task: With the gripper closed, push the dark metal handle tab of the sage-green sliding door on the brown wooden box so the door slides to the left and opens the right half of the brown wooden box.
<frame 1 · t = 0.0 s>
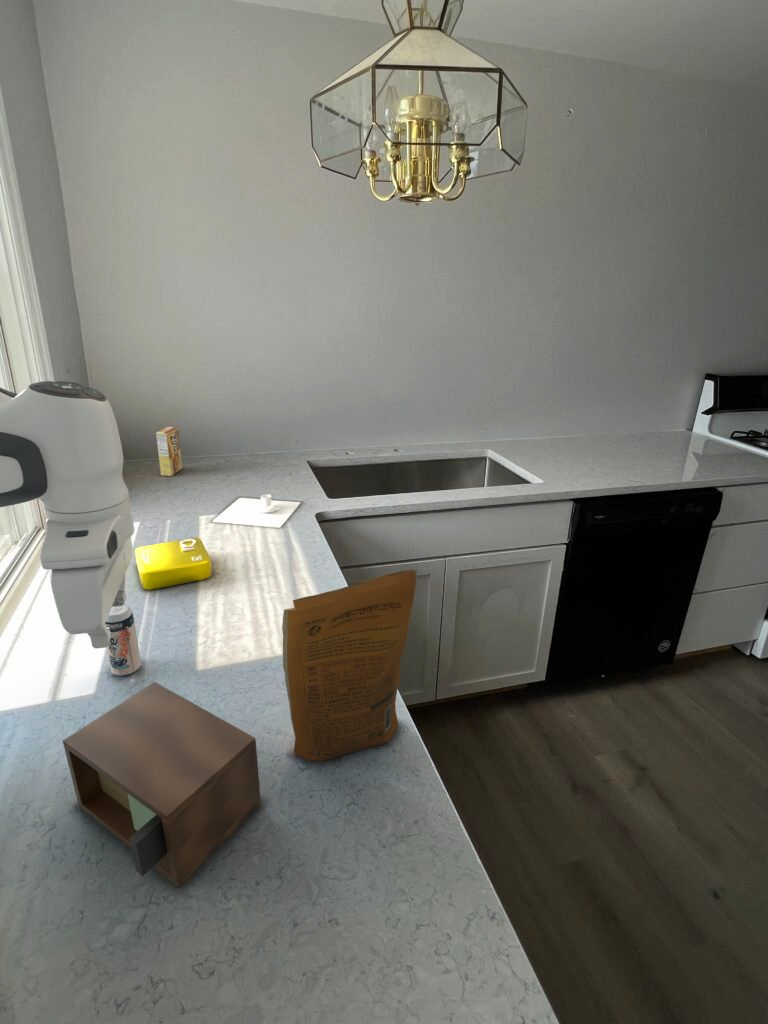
hand: (110, 622, 71), 22 cm above the worktop, tool pointing down, fingers open, 8 cm apart
brown wooden box: (173, 802, 72), on the worktop
beer can: (126, 669, 97), on the worktop
sliding door: (138, 830, 62), point 6 cm above the worktop, slide at 0.0 cm
pancake mix bag: (350, 746, 82), on the worktop
teacup and saucer: (258, 512, 165), on the worktop
yellow box: (174, 571, 130), on the worktop
candy box: (172, 472, 197), on the worktop
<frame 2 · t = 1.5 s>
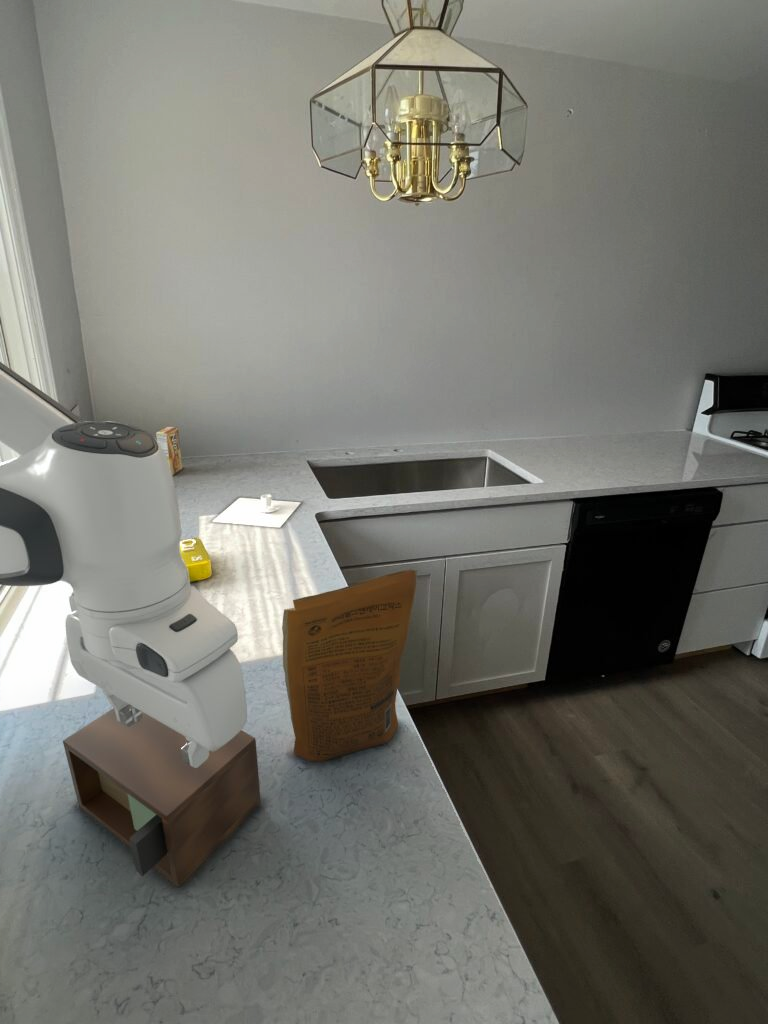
hand: (162, 739, 53), 22 cm above the worktop, tool pointing down, fingers open, 8 cm apart
nothing on the worktop moved.
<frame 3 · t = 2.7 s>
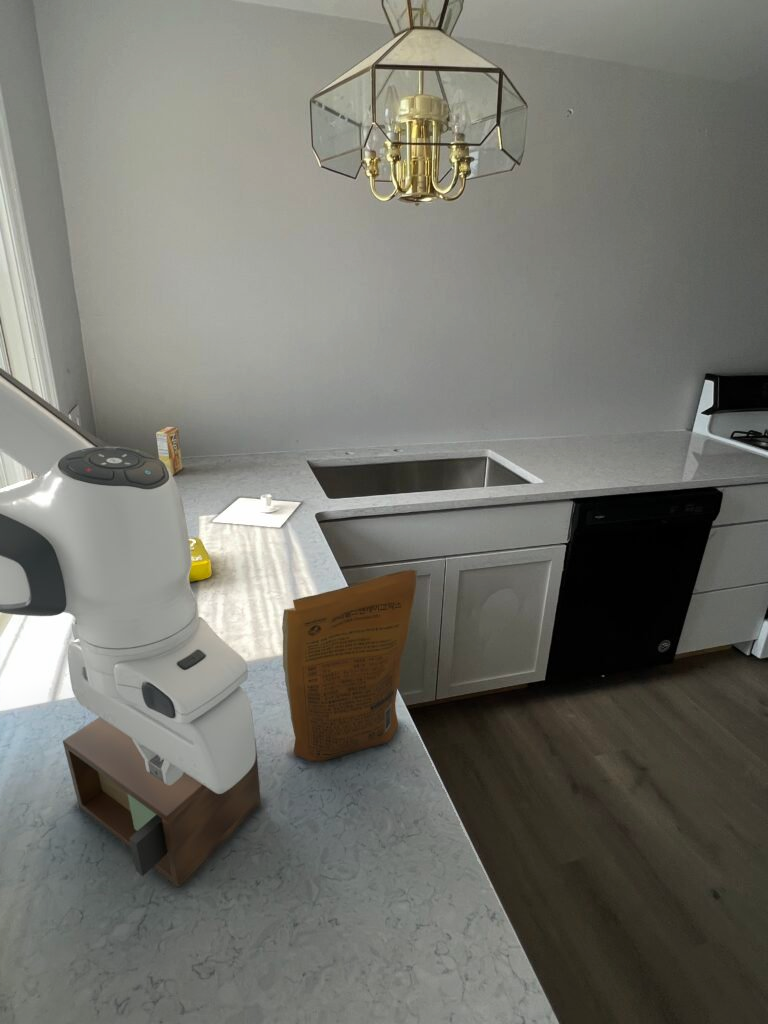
hand: (165, 774, 50), 21 cm above the worktop, tool pointing down, fingers closed
nothing on the worktop moved.
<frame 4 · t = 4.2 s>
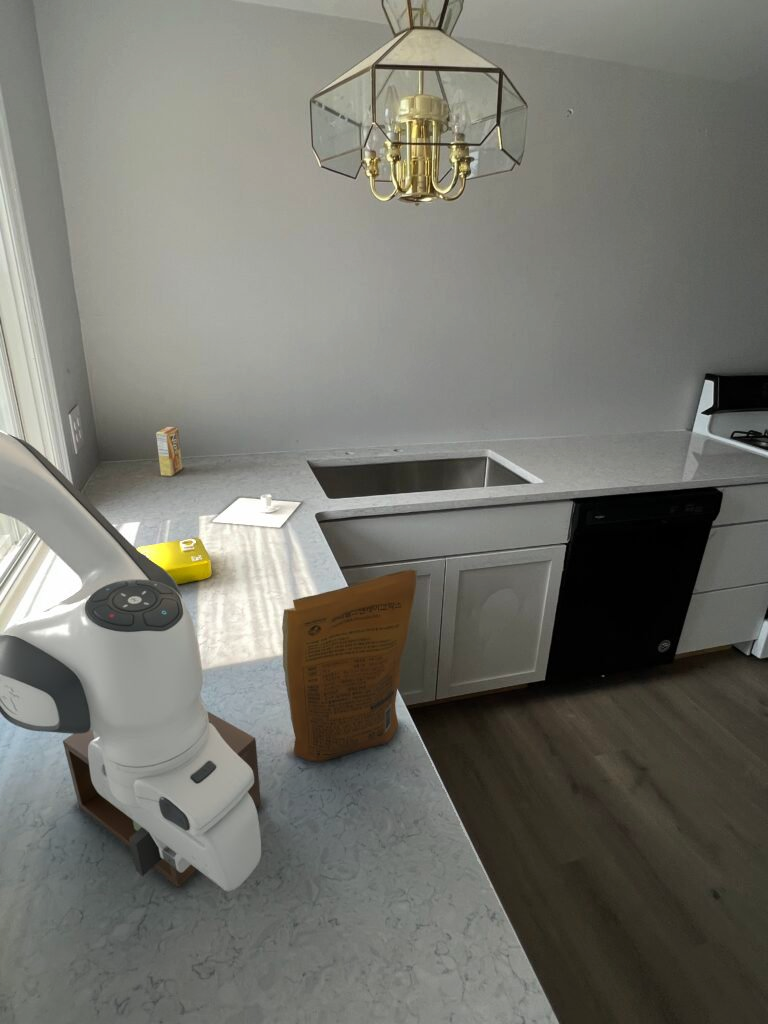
hand: (177, 859, 55), 9 cm above the worktop, tool pointing down, fingers closed
nothing on the worktop moved.
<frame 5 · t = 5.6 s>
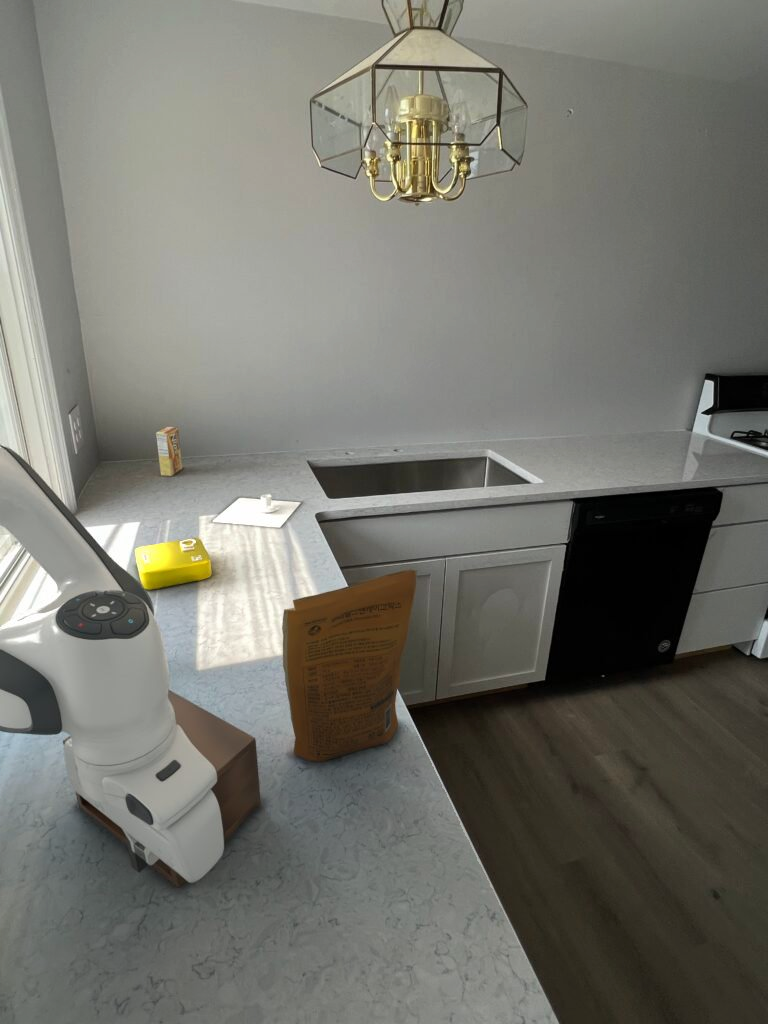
hand: (148, 853, 58), 7 cm above the worktop, tool pointing down, fingers closed
sliding door: (134, 827, 62), point 5 cm above the worktop, slide at 0.7 cm, touching gripper
everything else where it was.
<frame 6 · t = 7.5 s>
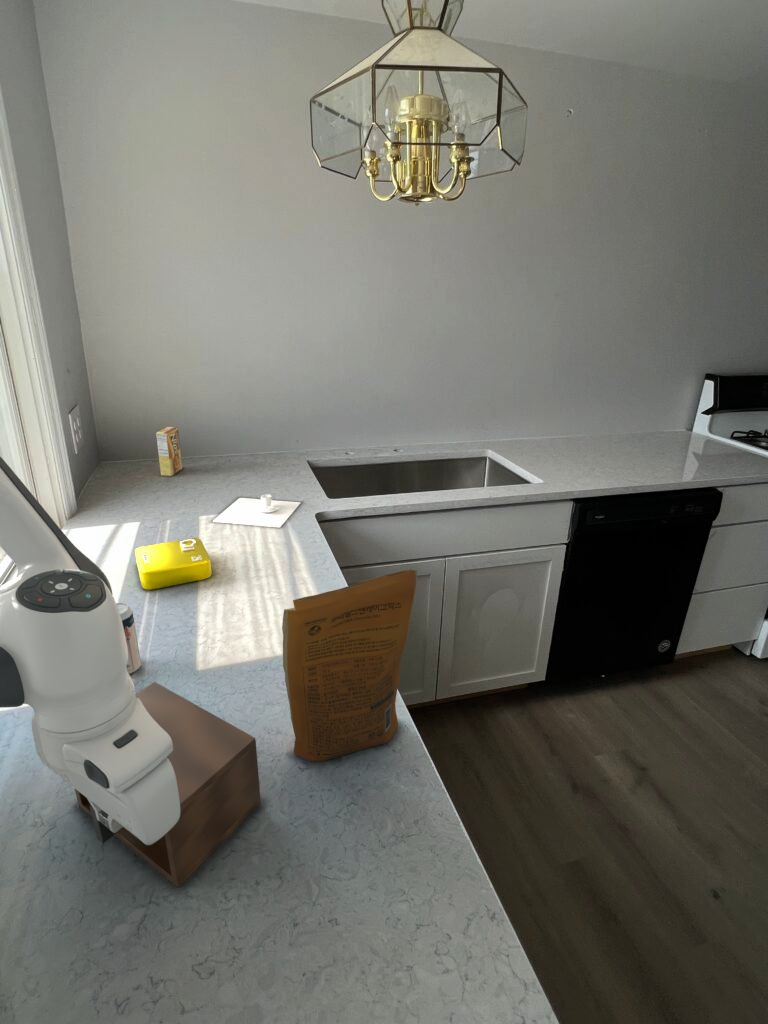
hand: (112, 822, 61), 7 cm above the worktop, tool pointing down, fingers closed
sliding door: (100, 801, 65), point 6 cm above the worktop, slide at 7.0 cm, touching gripper
everything else where it was.
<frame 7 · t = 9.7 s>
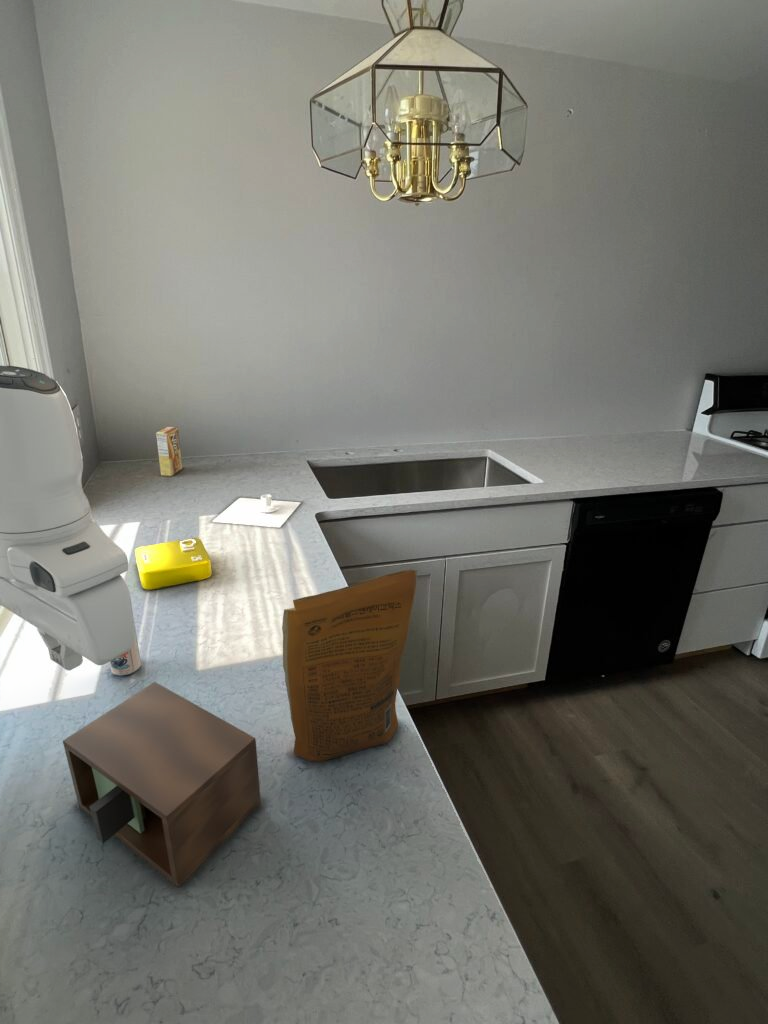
hand: (67, 662, 58), 25 cm above the worktop, tool pointing down, fingers closed
sliding door: (100, 801, 65), point 6 cm above the worktop, slide at 7.0 cm
everything else where it was.
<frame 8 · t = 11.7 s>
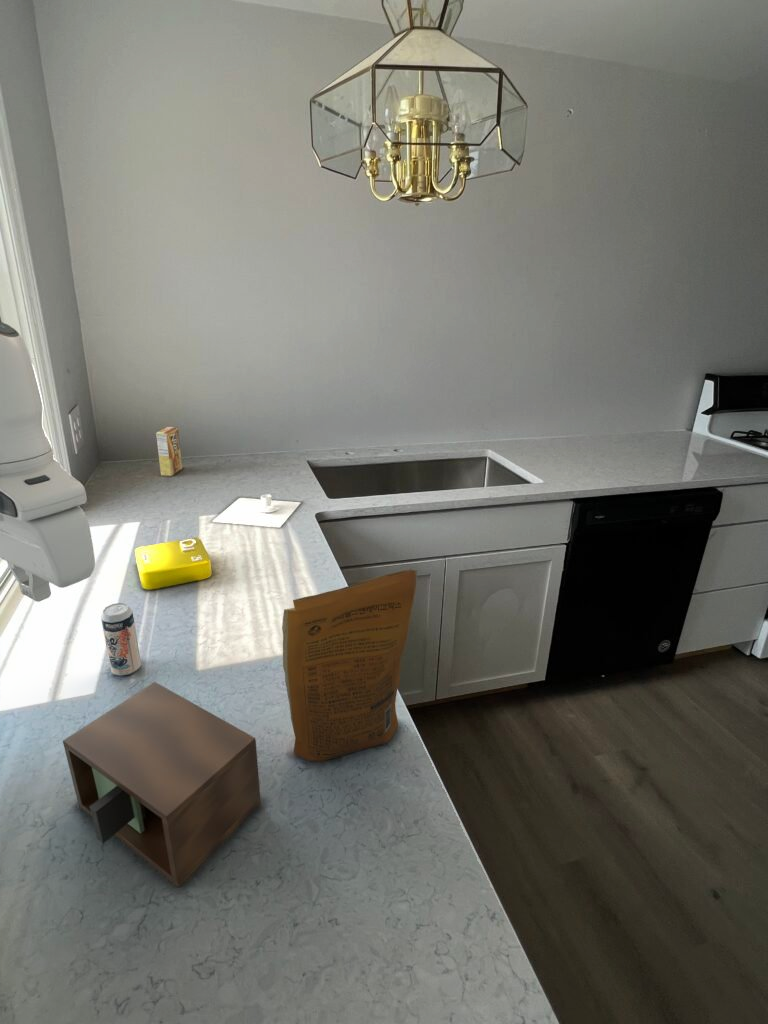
hand: (36, 596, 63), 29 cm above the worktop, tool pointing down, fingers closed
nothing on the worktop moved.
at the end: sliding door slide at 7.0 cm; pancake mix bag moved 0.2 cm from its start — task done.
